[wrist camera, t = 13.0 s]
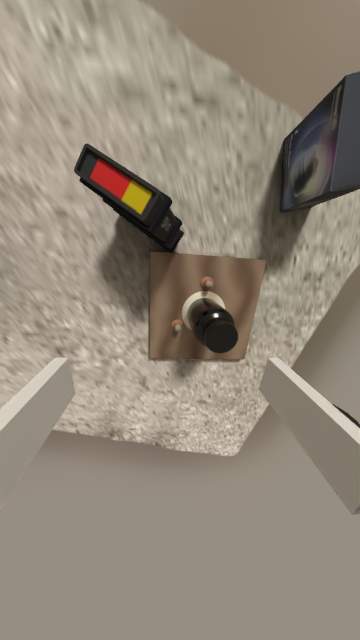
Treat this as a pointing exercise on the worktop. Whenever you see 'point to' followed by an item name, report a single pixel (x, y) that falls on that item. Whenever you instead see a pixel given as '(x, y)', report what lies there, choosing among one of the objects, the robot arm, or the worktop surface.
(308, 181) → the small box
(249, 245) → the worktop surface
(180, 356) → the board
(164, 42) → the worktop surface
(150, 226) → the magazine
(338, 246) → the worktop surface
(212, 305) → the supplement bottle
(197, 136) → the worktop surface
